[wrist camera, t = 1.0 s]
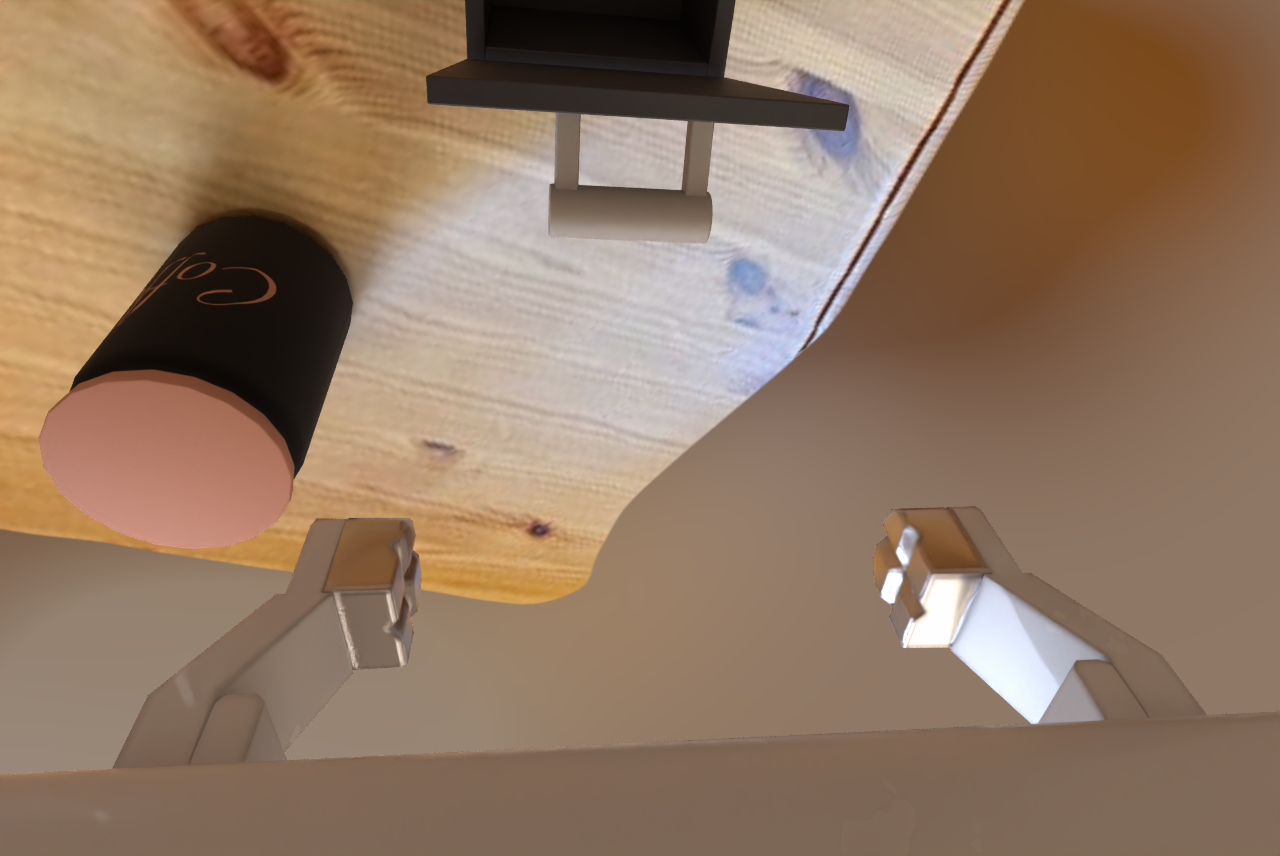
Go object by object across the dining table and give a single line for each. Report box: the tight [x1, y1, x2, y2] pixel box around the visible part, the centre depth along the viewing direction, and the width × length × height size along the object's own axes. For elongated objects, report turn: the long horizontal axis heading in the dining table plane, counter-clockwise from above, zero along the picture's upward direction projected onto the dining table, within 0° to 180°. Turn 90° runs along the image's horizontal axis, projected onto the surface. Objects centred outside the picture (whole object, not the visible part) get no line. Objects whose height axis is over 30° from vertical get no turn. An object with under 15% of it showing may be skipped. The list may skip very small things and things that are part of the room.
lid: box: [426, 59, 849, 243], centre depth 29 cm, size 15×12×4 cm
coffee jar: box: [39, 216, 353, 549], centre depth 43 cm, size 11×11×18 cm
